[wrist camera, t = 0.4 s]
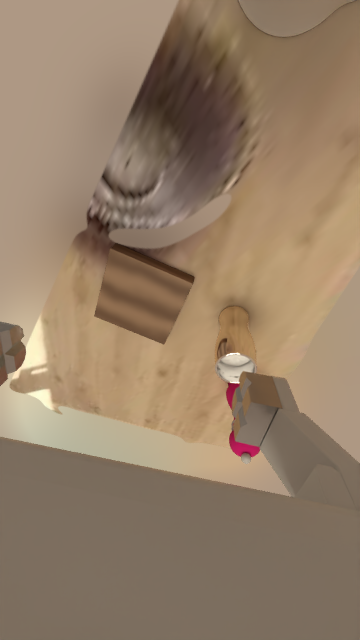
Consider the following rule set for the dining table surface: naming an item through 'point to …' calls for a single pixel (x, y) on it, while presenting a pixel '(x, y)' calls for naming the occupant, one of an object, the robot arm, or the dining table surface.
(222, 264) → the dining table surface
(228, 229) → the dining table surface
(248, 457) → the pepper mill
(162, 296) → the walnut base
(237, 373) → the beer glass
